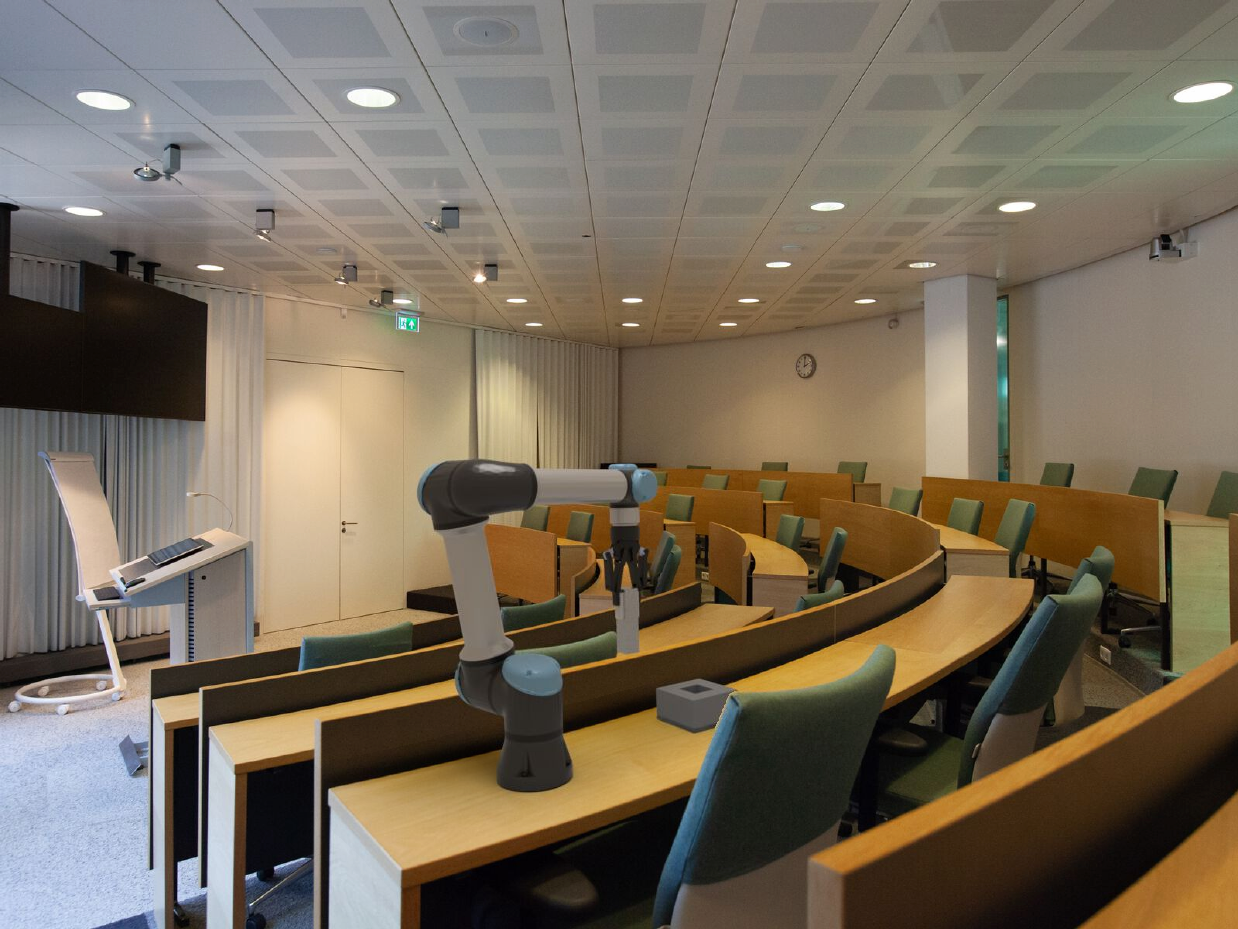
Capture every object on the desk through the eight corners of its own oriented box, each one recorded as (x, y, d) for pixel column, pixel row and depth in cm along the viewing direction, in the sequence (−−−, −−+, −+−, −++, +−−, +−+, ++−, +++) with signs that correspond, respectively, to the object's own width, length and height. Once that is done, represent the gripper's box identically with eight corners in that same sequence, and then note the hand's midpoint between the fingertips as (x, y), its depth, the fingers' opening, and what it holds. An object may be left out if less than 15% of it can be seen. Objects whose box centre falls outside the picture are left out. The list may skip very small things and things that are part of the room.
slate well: (694, 733, 171) (693, 700, 171) (657, 719, 183) (656, 688, 183) (738, 721, 179) (737, 689, 179) (700, 708, 191) (699, 678, 191)
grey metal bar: (626, 654, 184) (624, 589, 185) (617, 651, 188) (615, 588, 188) (639, 652, 187) (637, 588, 187) (629, 649, 190) (628, 586, 190)
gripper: (642, 522, 196) (645, 612, 195) (588, 526, 186) (590, 619, 186) (660, 523, 190) (663, 615, 189) (605, 526, 180) (607, 623, 179)
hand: (627, 617), depth 187 cm, fingers closed on grey metal bar, 4 cm apart
